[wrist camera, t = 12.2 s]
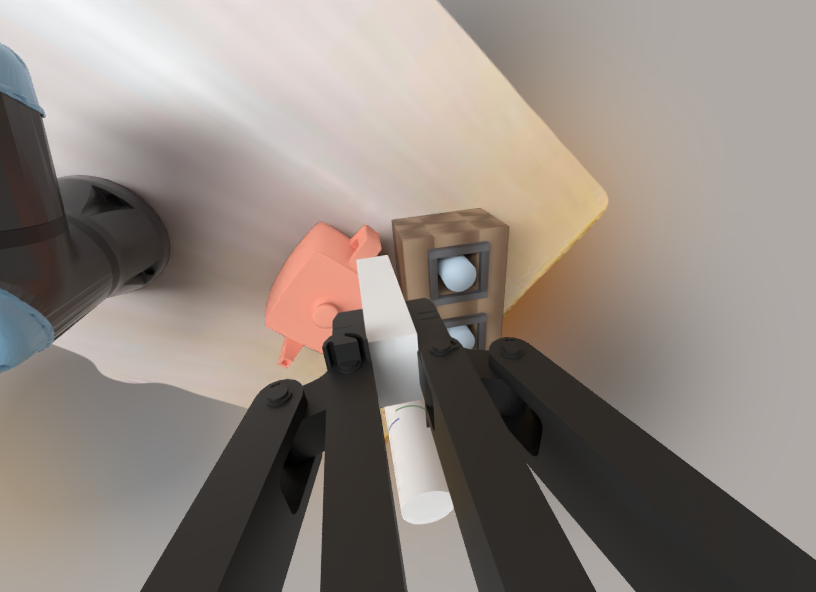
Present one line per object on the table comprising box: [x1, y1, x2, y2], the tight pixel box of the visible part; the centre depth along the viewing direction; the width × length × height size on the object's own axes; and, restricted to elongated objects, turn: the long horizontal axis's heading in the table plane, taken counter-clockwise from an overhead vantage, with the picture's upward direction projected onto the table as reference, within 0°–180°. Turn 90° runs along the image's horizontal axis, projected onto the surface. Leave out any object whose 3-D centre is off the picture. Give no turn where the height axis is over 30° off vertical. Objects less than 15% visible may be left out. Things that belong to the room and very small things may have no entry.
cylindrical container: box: [384, 394, 454, 524], centre depth 54 cm, size 7×7×25 cm
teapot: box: [265, 222, 382, 368], centre depth 46 cm, size 22×13×14 cm, turn 141°
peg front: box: [437, 255, 476, 292], centre depth 47 cm, size 4×4×9 cm
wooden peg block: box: [392, 208, 509, 350], centre depth 51 cm, size 14×22×11 cm, turn 5°
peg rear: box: [447, 325, 475, 349], centre depth 53 cm, size 4×4×9 cm
